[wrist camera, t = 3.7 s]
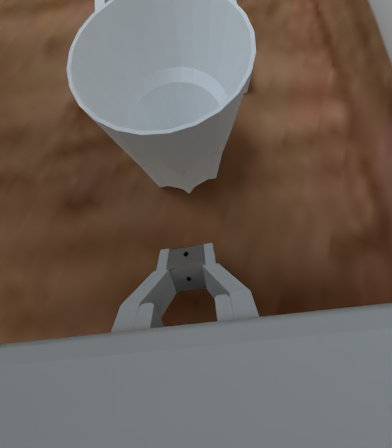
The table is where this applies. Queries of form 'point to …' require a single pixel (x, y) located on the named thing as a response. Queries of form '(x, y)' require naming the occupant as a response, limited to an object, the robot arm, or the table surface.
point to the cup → (165, 81)
